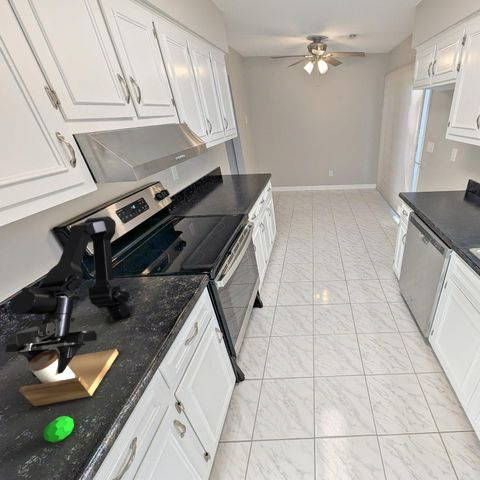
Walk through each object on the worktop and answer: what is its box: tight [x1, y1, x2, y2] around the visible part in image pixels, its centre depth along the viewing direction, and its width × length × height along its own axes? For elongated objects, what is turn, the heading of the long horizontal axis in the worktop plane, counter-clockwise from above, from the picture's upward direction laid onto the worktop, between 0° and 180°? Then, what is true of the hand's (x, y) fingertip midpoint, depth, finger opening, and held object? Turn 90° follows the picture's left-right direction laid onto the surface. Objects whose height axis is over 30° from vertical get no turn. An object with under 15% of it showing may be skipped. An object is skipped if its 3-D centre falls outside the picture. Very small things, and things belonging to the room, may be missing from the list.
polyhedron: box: [43, 415, 75, 443], centre depth 60 cm, size 5×5×5 cm
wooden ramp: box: [18, 348, 119, 407], centre depth 73 cm, size 14×14×7 cm
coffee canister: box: [26, 349, 75, 383], centre depth 69 cm, size 6×6×10 cm
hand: (48, 375), depth 68 cm, fingers closed on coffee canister, 5 cm apart
